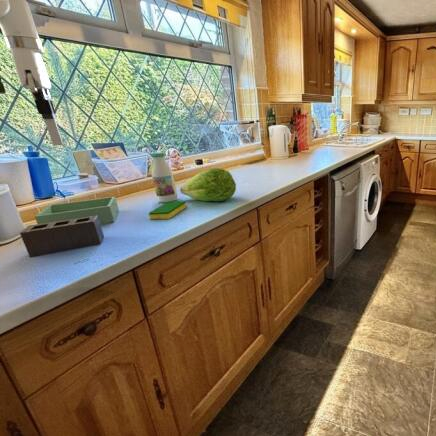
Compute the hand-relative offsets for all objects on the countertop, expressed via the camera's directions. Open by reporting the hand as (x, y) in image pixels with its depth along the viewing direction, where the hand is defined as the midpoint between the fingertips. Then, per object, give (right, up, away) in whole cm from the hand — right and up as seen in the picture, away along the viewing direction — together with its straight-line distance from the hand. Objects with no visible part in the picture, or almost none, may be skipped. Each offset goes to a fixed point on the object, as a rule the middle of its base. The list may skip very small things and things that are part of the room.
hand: (47, 113), depth 93 cm
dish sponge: (+28, -30, +19) cm, 45 cm away
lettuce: (+36, -25, +34) cm, 55 cm away
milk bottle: (+18, -25, +36) cm, 47 cm away
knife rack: (+13, -40, -7) cm, 43 cm away
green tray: (+1, -33, +13) cm, 36 cm away
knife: (0, -9, +3) cm, 10 cm away
